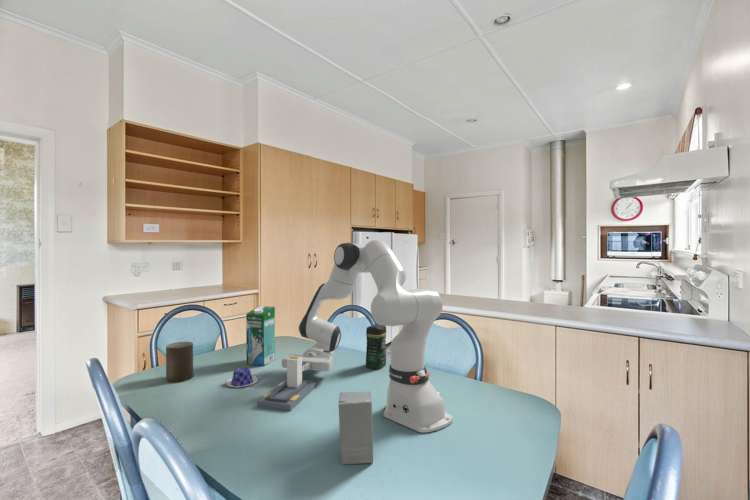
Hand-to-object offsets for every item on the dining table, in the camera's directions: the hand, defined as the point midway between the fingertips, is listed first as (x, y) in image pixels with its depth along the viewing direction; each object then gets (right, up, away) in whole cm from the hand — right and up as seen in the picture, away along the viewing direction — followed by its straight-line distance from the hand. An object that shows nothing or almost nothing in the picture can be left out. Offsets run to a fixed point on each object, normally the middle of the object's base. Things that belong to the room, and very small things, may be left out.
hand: (298, 369), depth 135 cm
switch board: (-2, -7, -8) cm, 11 cm away
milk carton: (-24, -7, +29) cm, 38 cm away
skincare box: (+24, -8, -45) cm, 51 cm away
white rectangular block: (-1, -5, -3) cm, 6 cm away
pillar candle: (-50, -7, +10) cm, 51 cm away
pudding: (-23, -7, +5) cm, 25 cm away
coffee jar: (+29, -7, +24) cm, 38 cm away
